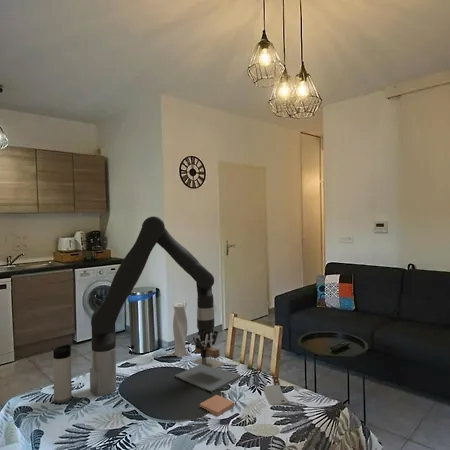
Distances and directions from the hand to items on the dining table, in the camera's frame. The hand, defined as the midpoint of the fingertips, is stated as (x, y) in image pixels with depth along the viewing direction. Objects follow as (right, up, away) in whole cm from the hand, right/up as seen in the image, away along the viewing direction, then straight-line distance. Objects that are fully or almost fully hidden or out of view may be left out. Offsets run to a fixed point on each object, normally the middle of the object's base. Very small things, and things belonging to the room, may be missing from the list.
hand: (206, 356), depth 158 cm
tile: (+2, -9, -21) cm, 23 cm away
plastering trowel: (+1, -3, -1) cm, 3 cm away
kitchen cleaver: (+28, -10, -12) cm, 31 cm away
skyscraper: (-14, -9, +27) cm, 32 cm away
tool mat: (0, -9, 0) cm, 9 cm away
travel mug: (-54, -10, -17) cm, 58 cm away
